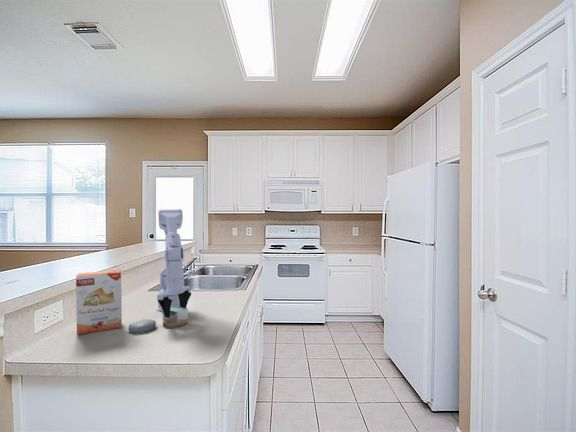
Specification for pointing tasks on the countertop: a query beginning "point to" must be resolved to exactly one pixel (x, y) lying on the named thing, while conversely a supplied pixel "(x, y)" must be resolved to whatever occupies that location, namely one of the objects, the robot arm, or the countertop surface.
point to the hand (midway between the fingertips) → (175, 314)
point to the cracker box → (98, 301)
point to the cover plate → (175, 309)
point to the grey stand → (142, 326)
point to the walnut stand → (174, 323)
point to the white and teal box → (177, 315)
